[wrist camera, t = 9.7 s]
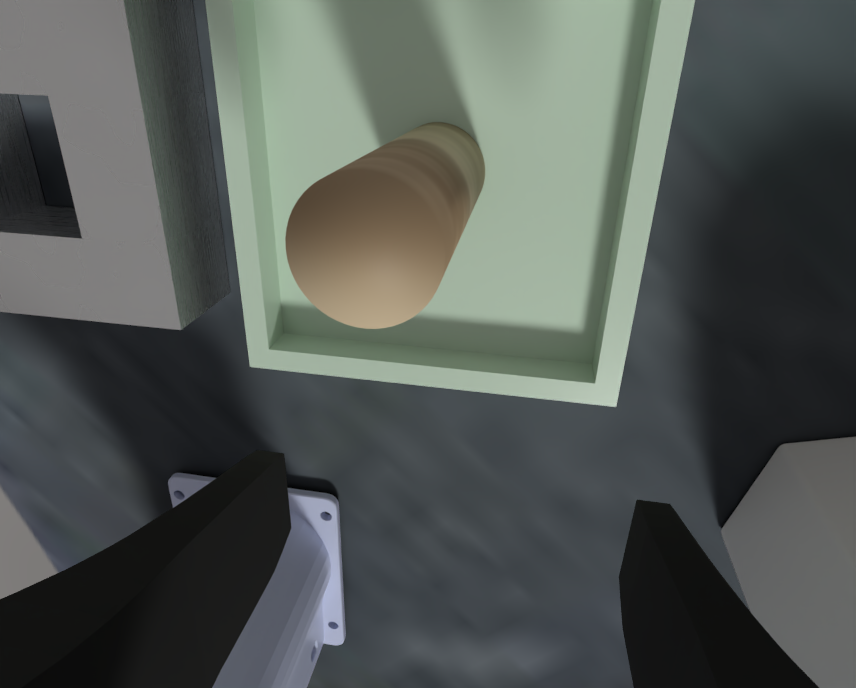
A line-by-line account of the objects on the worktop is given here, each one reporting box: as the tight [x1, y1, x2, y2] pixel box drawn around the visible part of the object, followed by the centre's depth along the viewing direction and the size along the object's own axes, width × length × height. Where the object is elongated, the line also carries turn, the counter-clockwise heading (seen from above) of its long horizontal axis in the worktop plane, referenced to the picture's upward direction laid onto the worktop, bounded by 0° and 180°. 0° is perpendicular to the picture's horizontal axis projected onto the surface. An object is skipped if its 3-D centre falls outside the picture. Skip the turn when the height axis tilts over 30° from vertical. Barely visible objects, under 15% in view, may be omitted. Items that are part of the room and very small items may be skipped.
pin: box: [285, 122, 485, 329], centre depth 15 cm, size 3×3×9 cm
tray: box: [205, 0, 695, 407], centre depth 19 cm, size 14×13×2 cm
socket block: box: [0, 0, 230, 330], centre depth 20 cm, size 10×10×4 cm
